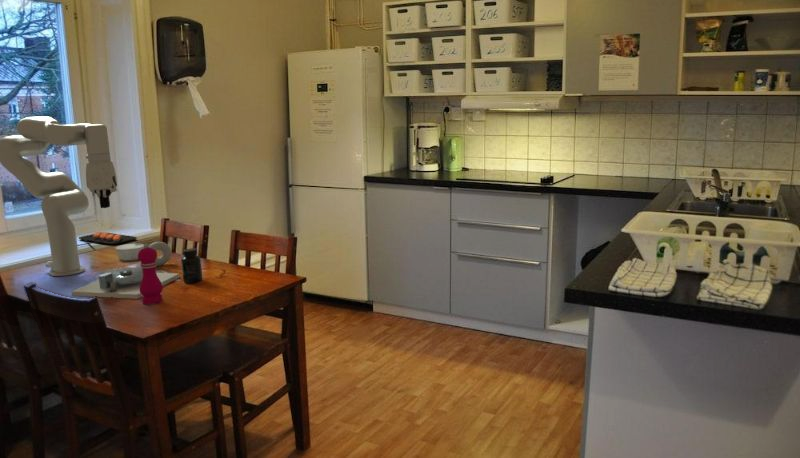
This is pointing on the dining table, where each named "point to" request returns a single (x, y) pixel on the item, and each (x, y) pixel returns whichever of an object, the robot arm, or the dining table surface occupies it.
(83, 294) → the base board
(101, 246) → the dining table surface
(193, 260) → the supplement bottle
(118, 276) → the flange plate
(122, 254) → the ramekin
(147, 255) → the pepper mill
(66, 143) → the robot arm
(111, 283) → the steel dowel
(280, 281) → the dining table surface
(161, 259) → the donut
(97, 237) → the sushi plate
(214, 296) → the dining table surface
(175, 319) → the dining table surface
